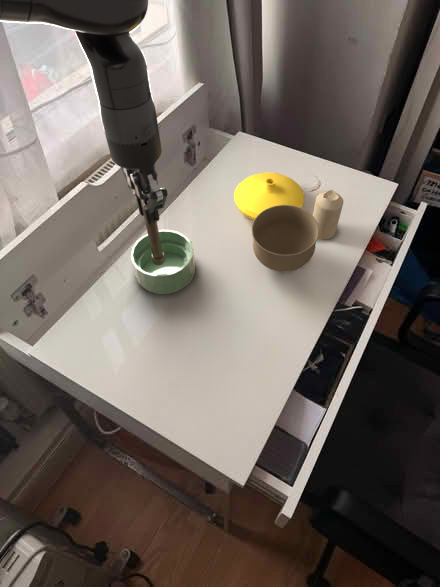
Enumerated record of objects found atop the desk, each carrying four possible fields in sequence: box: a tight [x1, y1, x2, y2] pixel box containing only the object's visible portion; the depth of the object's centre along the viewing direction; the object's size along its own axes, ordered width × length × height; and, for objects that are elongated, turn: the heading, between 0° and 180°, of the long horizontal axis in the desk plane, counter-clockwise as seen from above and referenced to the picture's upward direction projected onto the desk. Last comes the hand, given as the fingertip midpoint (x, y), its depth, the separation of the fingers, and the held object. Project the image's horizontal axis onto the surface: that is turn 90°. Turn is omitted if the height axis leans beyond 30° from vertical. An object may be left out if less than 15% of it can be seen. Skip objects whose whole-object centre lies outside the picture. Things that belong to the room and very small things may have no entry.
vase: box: [233, 171, 305, 221], centre depth 97 cm, size 16×16×7 cm
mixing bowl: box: [130, 229, 196, 295], centre depth 86 cm, size 12×12×6 cm
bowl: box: [251, 205, 319, 273], centre depth 85 cm, size 13×13×10 cm
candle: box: [312, 189, 344, 240], centre depth 90 cm, size 6×6×10 cm
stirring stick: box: [140, 197, 165, 265], centre depth 77 cm, size 2×2×16 cm
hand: (149, 217), depth 75 cm, fingers closed on stirring stick, 2 cm apart
